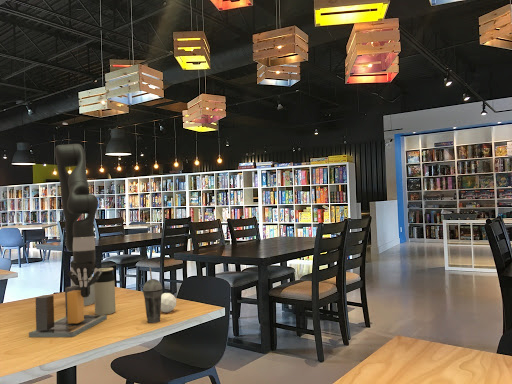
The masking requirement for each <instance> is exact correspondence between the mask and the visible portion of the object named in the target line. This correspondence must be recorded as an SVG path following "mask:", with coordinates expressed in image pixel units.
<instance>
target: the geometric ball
mask: <svg viewBox="0 0 512 384" xmlns="http://www.w3.org/2000/svg"><path fill="white" fill-rule="evenodd" d="M176 307H177V299H176V297H175V295H173V294H172V293H171V292H164V293H162V295H161V312H162V313H168V314H169V313H171V312H172V311H174V309H175V308H176Z"/></svg>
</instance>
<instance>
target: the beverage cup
mask: <svg viewBox="0 0 512 384" xmlns="http://www.w3.org/2000/svg"><path fill="white" fill-rule="evenodd" d="M152 274H153V273H152V267H149V276H150V278H149V279H148V280H146V282H145V283H144V285H143V287H142V294H143V297H144V306H145V307H144V308H145V313H146V320H147V321H146V322H147V323H148V324H154V323H155V324H156V323H159V322H161V312H162V311H161V295H162V294H163V290H164V289H163V286H162V283H161V282H160V281H159V280H158V279H156V278H153V277H152V276H153V275H152Z"/></svg>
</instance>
